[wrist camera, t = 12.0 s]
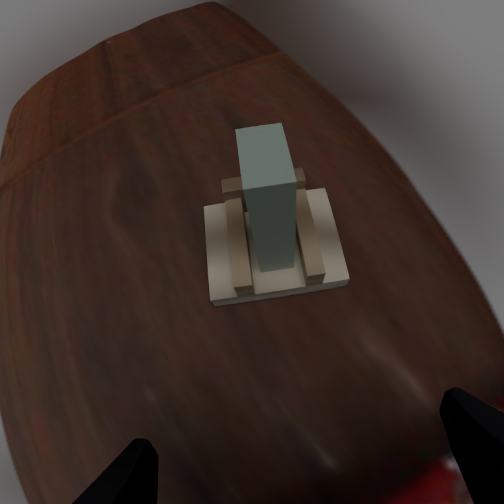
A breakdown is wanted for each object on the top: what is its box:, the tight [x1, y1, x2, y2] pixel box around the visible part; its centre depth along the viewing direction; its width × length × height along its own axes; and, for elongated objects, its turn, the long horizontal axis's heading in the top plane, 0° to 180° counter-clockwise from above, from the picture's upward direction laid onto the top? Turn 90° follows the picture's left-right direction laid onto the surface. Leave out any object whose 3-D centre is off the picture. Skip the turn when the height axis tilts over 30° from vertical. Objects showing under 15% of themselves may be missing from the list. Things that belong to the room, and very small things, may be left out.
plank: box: [235, 123, 297, 273], centre depth 19 cm, size 4×2×10 cm, turn 7°
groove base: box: [204, 168, 349, 306], centre depth 23 cm, size 8×10×4 cm
